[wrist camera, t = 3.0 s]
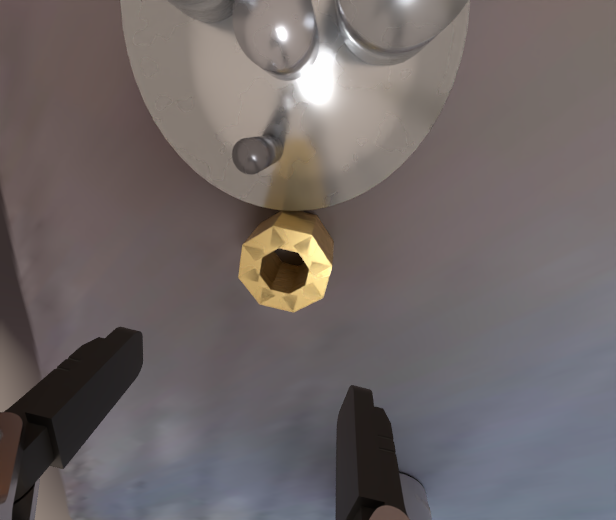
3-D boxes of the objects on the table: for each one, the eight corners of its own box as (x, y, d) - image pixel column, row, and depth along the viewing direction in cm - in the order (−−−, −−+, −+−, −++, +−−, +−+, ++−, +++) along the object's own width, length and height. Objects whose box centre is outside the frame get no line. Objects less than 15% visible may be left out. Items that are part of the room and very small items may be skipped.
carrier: (256, 251, 24) (230, 289, 19) (68, -8, 18) (-56, -70, 13) (510, 103, 18) (587, 93, 13) (356, -354, 12) (370, -770, 7)
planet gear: (284, 290, 26) (273, 322, 21) (242, 234, 24) (222, 257, 20) (344, 259, 24) (345, 286, 20) (304, 195, 22) (296, 211, 18)
